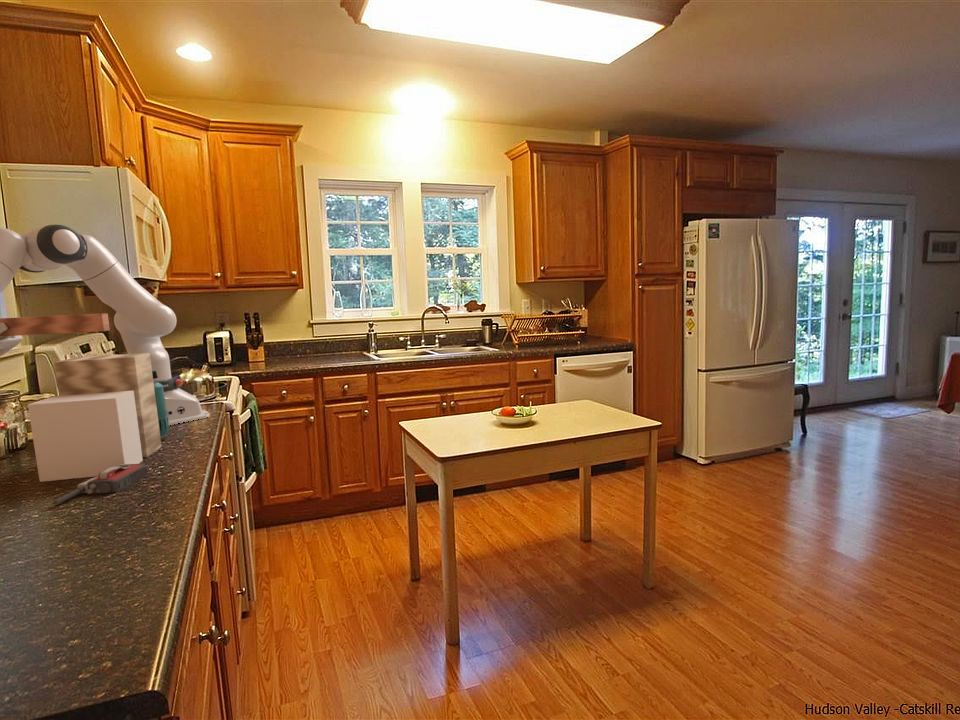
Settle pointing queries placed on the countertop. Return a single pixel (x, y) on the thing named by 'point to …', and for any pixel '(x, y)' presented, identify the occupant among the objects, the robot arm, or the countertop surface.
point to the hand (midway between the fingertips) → (12, 324)
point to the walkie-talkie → (109, 481)
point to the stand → (116, 387)
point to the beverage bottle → (161, 406)
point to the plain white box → (84, 434)
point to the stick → (56, 324)
